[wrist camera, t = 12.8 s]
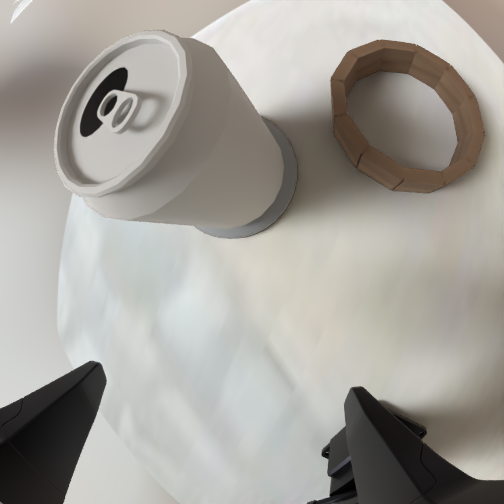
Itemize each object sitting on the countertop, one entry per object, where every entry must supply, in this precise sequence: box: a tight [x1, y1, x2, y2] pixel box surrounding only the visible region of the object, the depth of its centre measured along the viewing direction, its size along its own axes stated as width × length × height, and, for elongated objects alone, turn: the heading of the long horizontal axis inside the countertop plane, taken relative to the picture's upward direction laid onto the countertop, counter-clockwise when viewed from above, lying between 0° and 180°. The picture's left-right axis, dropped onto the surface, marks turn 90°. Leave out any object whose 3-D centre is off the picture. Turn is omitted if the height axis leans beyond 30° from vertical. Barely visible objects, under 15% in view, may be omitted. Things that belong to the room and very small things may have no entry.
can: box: [54, 30, 284, 229], centre depth 13 cm, size 8×8×12 cm
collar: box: [330, 40, 485, 193], centre depth 14 cm, size 10×10×3 cm
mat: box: [195, 117, 298, 239], centre depth 19 cm, size 9×9×1 cm
